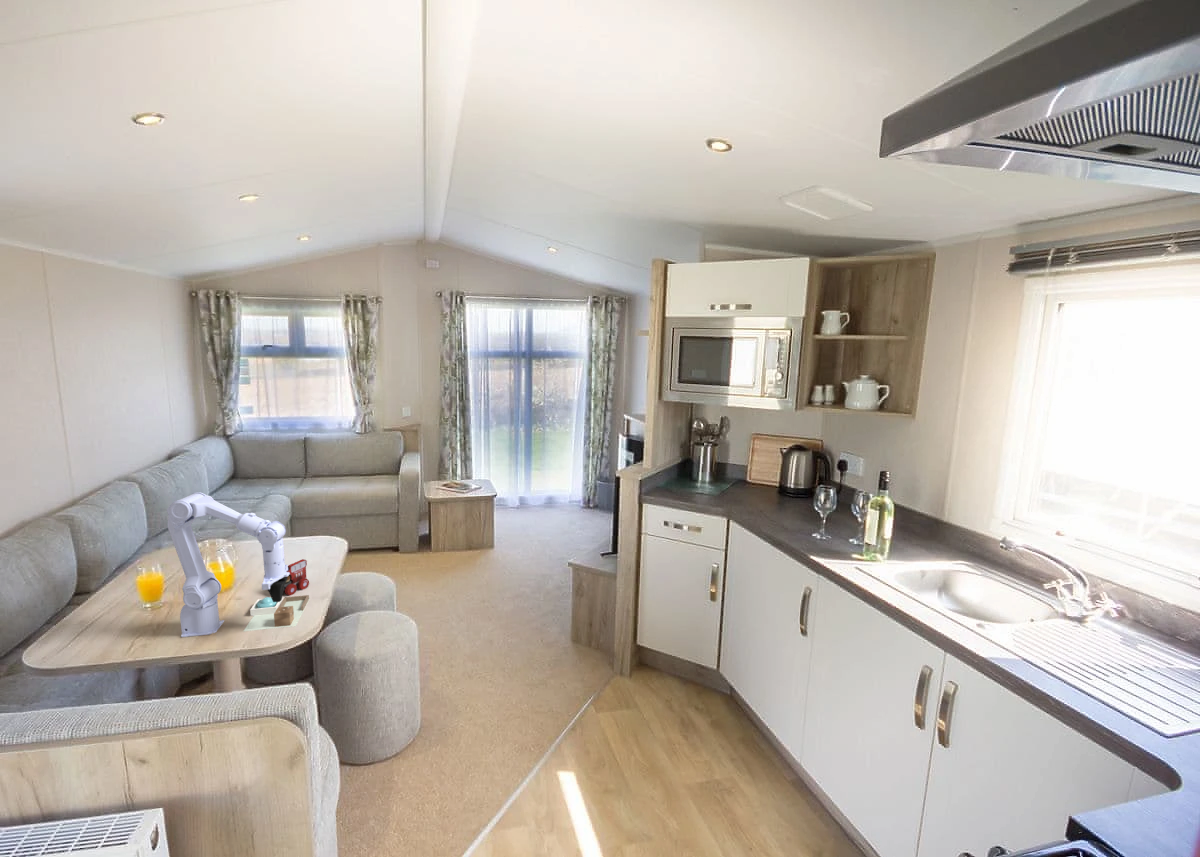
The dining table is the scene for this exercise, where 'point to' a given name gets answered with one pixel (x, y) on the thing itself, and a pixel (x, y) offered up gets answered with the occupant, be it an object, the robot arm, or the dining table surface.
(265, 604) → the dome
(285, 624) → the die
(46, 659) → the dining table surface
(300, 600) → the pale green flat board
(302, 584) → the toy fire truck
